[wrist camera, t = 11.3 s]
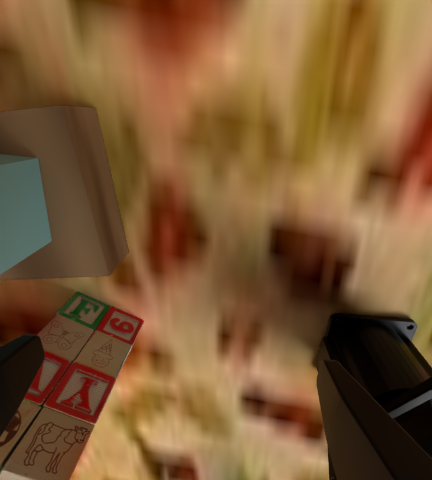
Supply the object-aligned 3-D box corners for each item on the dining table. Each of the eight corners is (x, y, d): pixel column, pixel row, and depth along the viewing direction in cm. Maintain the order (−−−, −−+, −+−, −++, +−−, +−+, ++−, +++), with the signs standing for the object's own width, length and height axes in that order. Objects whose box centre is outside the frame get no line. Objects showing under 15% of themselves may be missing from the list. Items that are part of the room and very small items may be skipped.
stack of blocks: (80, 445, 32) (-5, 621, 21) (28, 426, 31) (-89, 597, 20) (145, 318, 24) (63, 497, 13) (76, 288, 23) (-77, 449, 12)
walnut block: (99, 108, 18) (62, 105, 14) (131, 249, 22) (109, 276, 18) (-43, 122, 19) (-112, 122, 15) (12, 254, 22) (-31, 281, 19)
